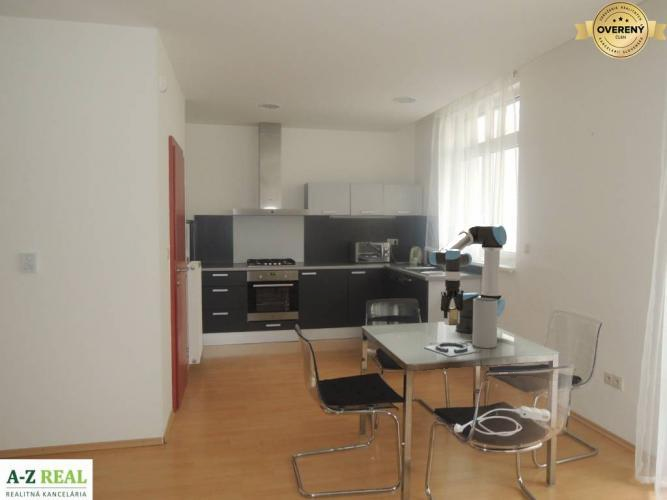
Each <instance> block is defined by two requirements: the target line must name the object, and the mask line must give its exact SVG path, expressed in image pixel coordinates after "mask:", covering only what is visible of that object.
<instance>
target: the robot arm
mask: <svg viewBox="0 0 667 500" xmlns="http://www.w3.org/2000/svg"><path fill="white" fill-rule="evenodd" d="M507 237H508V236H507V231H506V229H505V227H504V226H503V225H501V224H475V225H472V226H468V227H467V228H465V229H463V230H462V231H460V232H459V233H458V236H456V237H455V238H454V239H453V240H451V241H450V242H449V243H447V244H446V245H445V246H444V247H442V248H441V249H440V250H433V251H431V252H430V253H429V255H428V260H429V263H430V264H431V265H435V266H444V267H445V273H444V274H445V275H444V279H445V280H444V286H445V290H444V291H441V292H440V296H441V299H440V311H442V312H443V318H444V320H443V321H444V325H446V324H447V326H450V325H449V312H448V310H449V307H450V305H451V302H452V300H453V302H454V306H455V307H454V308H457V309H458V325H455V330H456V331H457V332H459V333H465V334H473V299H474V298H492V299H497V300H498V310H497V318H500V317H501V316H502V314H503V313H504V311H505V307H506V301H505V298H504V297H502V293H501V292H500V259H501V257H500V256H501V255H500V254H501V253H500V252H501V250H502V249H503V246H504V245H506V243H507V239H508V238H507ZM472 245H481V248H482V249H483V252H484V253H483V254H484V255H483V259H484V261H483V262H484V264H483V291H481V292H480V293H479V292H466V293H465V291H464V290H463V289H460V287H461V280H460V279H461V268H462V267H463V268H465V267H467V266H470V265H471V264H472V262H473V258H472V257H473V256H472V255H471V254H470V253H469V252H466V251H463V252H461V251H462V250H464V249H465V248H467V247H469V246H472Z"/></svg>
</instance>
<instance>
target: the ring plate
mask: <svg viewBox="0 0 667 500" xmlns="http://www.w3.org/2000/svg"><path fill="white" fill-rule="evenodd" d="M442 347H443V348H448V352H443V351H439V350H437V349H436V344H433V345H426V346H424V347H423V348H424V349H425V350H429V351H432V352H435V353H437V354H440V355H443V356H446V357H449V358H454V357H459V356H465V355H469V354H476V353H479V352H481V350H479V349H475V348H473V347H469V346H468V349H467V351H466V352H463V353H455V352H454V349H460V348H461V347H457V346H442Z"/></svg>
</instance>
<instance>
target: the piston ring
mask: <svg viewBox="0 0 667 500" xmlns="http://www.w3.org/2000/svg"><path fill="white" fill-rule="evenodd" d="M435 345H436V349H437V350H439V351H443V352H448V348H443V347H442V346H457V347H461V348H460V349H454V352H455V353H463V352H466V351H467V349H468V347H469V346H468V345H466V344H464V343H461V342H456V341H443V342H442V341H441V342H438V343H435Z"/></svg>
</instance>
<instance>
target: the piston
mask: <svg viewBox="0 0 667 500" xmlns="http://www.w3.org/2000/svg"><path fill="white" fill-rule="evenodd" d="M448 312H449V325H447V324H445V325H447V326H456V325H458V309H457V308H456V307H453V306H451V307H450V306H449V310H448Z"/></svg>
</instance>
